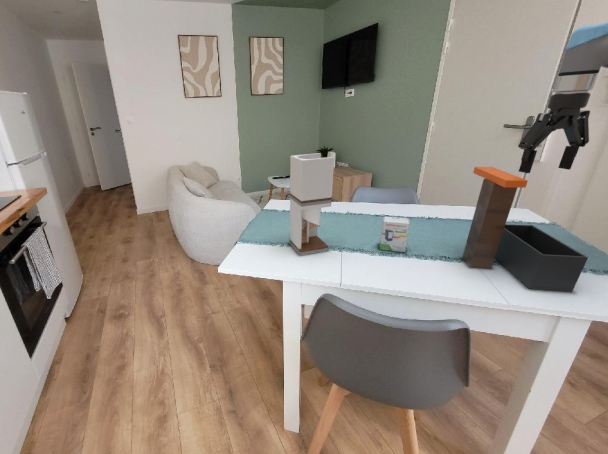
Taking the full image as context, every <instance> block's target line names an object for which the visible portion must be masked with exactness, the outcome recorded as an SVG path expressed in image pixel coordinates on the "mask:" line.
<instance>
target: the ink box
mask: <svg viewBox="0 0 608 454" xmlns="http://www.w3.org/2000/svg"><path fill="white" fill-rule="evenodd" d="M381 224H382V225H381V231H380V238H379V250H381V251H388V252H390V251H391V252H398V253H406V250H407V249H406V248H407V244H408V236H409V231H410V226H411V222H410V219H409V218H407V217H395V216H383V218H382V223H381Z"/></svg>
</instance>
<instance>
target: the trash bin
mask: <svg viewBox="0 0 608 454" xmlns="http://www.w3.org/2000/svg"><path fill="white" fill-rule="evenodd" d="M588 259H589V257H588V256H586V255H584V253H581V252H580V251H578V250H576V249H574V248H573V247H571V246H570V245H567V244H566V243H564V242H563V241H561V240H559V239H557V238H555V237H554V236H552V235H550V234H549V233H547V232H545V231H543V230H542V229H540V228H538V227H537V226H535V225H533V224H532V225H531V224H510V223H509V224H507V223H506V224H505V227H504V231H503V234H502V237H501V240H500V243H499V246H498V249H497V252H496V255H495V258H494V260H496V261H497V262H498V263H499V264H500V265H501V266H503V268H505V269H506V270H507V271H508V272H509V273H510V274H512V276H514V277H515V278H516V279H517V280H518V281H519V282H521V284H523V285H524V286H525V287H526V288H527V289H529V290H539V291H553V292H564V293H565V292H566V293H573V291H574V289H575V286H576V285H577V283H578V280H579V278H580V276H581V274H582V272H583V269H584V267H585V266H586V263H587V261H588Z"/></svg>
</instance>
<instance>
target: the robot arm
mask: <svg viewBox="0 0 608 454" xmlns="http://www.w3.org/2000/svg"><path fill="white" fill-rule="evenodd" d="M601 68H606V69H608V22H602V23H595V24H590V25H584V26H580V27H579V28H576V29H575V30H574V31H573V32H572V33H571V35H570V37H569V41H568V43H567V45H566V48H565V49H564V54H563V58H562V60H561V64H560V67H559V70H558V73H557V77H556V80H555V83H554V86H553V89H552V92H553V93H554V94H552V95H550V97H549V101H548V104H547V109H548V110H549V112H540V113H538V114H537V116H536V119H535V121H534V122H533V124H532V125H531V127H530V128H529V129H528V131H527V133H526V134H525V135H524V136H523V138H522V139H521V140H520V142H519V143H518V148H519V149H521V150H523V153H522V155H521V156H522V157H521V159H520V160H521V162H520V166H519V169H518V172H519V173H524V174H530V173H531V171H532V168H533V165H534V162H535V158H536V155H537V153H538V150H536V149H537V148H538V147H539V146H540V145H541V144H542V143H543V142H544V141H545V140H546V139H547V138H548V137H549V136H550V135H551V134H552V133H553V132H556V131H557V130H563V132H564V134H565V135H564V136H565V137H566V140H567V142H568V145H566V146H565V148H564V150H563V154H562V156H561V159H560V161H559V165H558V167H557V168H558V169H563V170H568V171H569V170H571V169H572V166H573V164H574V161H575V158H576V157H577V154H578V152H579V149H580V148H584V147H585V146H586V145H587V144H589V142H590V129H589V128H590V127H589V118H590V115H591V110H586V109H585V108H586V107H587V105H588V103H589V100H590V97H591V93H590V91H593V90H594V88H595V85H596V82H597V80H598V76H599V73H600V70H601ZM581 109H583V110H581ZM584 109H585V110H584Z"/></svg>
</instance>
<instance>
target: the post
mask: <svg viewBox="0 0 608 454" xmlns="http://www.w3.org/2000/svg"><path fill="white" fill-rule="evenodd" d="M517 191H518V188H515V187H502V186H500V185H498V184H496V183H494V182H492V181H490V180H487V179H485V178H483V179H482V184H481V188H480V191H479V194H478V199H477V202H476V205H475V209H474V214H473V217H472V220H471V224H470V228H469V231H468V234H467V238H466V242H465V245H464V249H463V253H462V257H461V259H462V260H463V261H464V262H465V263H466V265H467V266H468V267H469V268H475V269H492V267H493V264H494V261H495V255H496V252H497V249H498V246H499V243H500V240H501V237H502V234H503V231H504V227H505V224H507V221H508V218H509V215H510V212H511V209H512V205H513V202H514V199H515V196H516V193H517Z"/></svg>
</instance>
